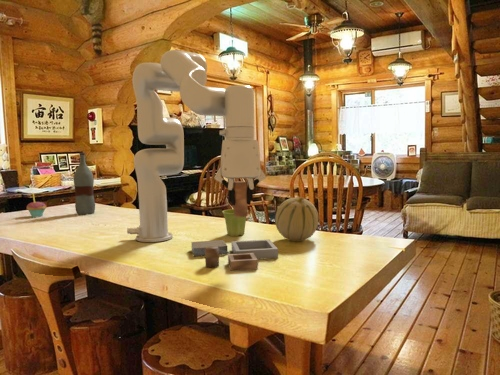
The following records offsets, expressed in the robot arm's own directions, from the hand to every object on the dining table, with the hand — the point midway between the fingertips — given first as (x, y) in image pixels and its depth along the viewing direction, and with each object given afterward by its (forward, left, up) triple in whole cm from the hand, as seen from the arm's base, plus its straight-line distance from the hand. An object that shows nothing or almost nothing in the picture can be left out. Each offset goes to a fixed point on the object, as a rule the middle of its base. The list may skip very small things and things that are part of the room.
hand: (240, 203), depth 109 cm
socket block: (0, 0, -17) cm, 17 cm away
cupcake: (-86, +102, -17) cm, 135 cm away
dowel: (0, 0, -3) cm, 3 cm away
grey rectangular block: (-8, +16, -17) cm, 25 cm away
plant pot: (+3, +39, -17) cm, 43 cm away
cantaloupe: (+22, +25, -17) cm, 38 cm away
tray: (+5, +11, -17) cm, 21 cm away
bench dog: (-8, +2, -17) cm, 19 cm away
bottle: (-64, +104, -17) cm, 123 cm away
